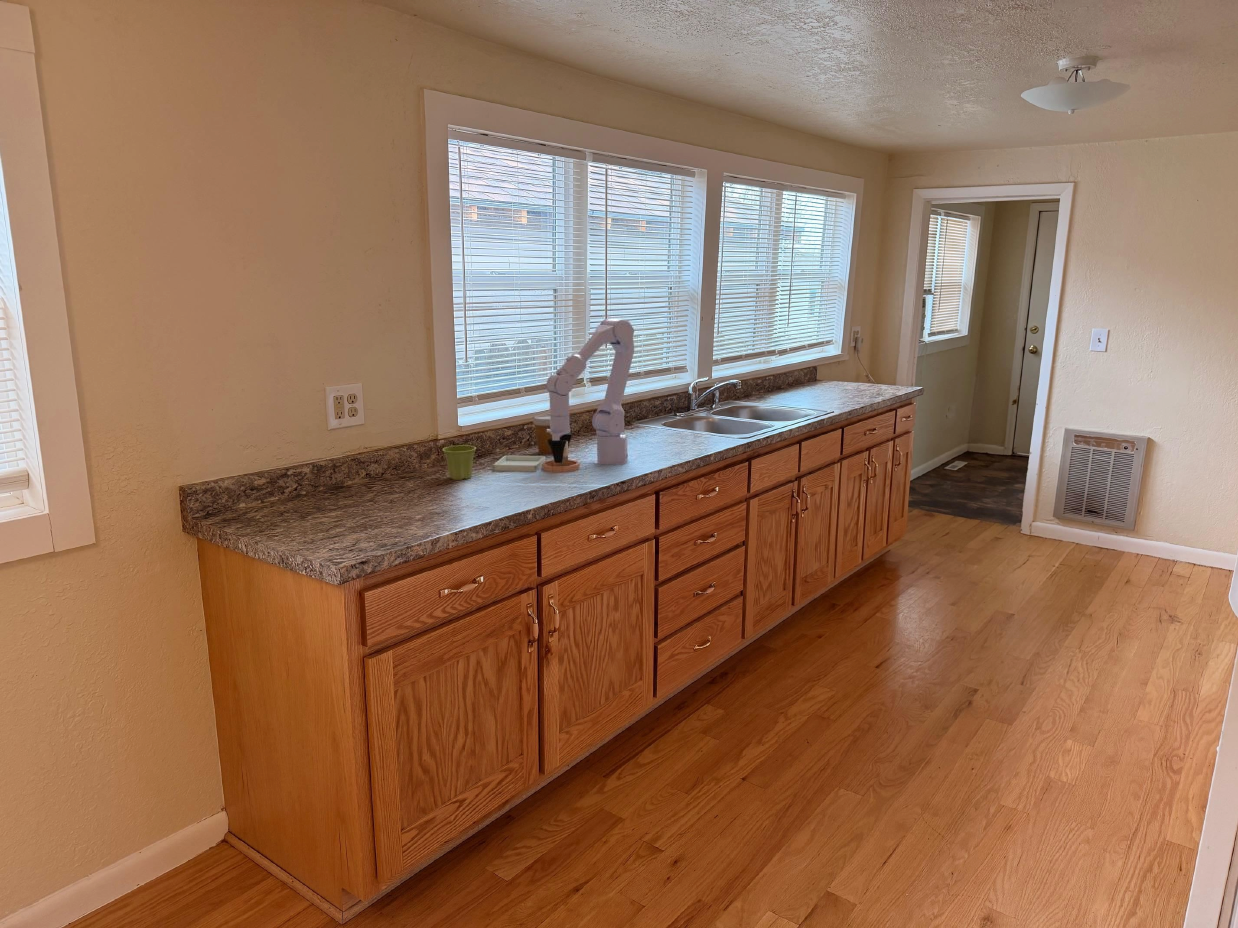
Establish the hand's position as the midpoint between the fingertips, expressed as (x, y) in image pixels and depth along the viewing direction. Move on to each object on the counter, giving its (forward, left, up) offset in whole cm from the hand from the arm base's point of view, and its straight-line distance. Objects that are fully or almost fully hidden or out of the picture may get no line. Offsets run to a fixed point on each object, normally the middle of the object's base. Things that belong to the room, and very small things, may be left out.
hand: (560, 460), depth 255 cm
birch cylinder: (0, 0, -2) cm, 2 cm away
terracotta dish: (0, 0, -3) cm, 3 cm away
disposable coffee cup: (+9, -25, -3) cm, 27 cm away
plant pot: (+27, +13, -3) cm, 30 cm away
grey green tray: (+13, -2, -3) cm, 13 cm away
